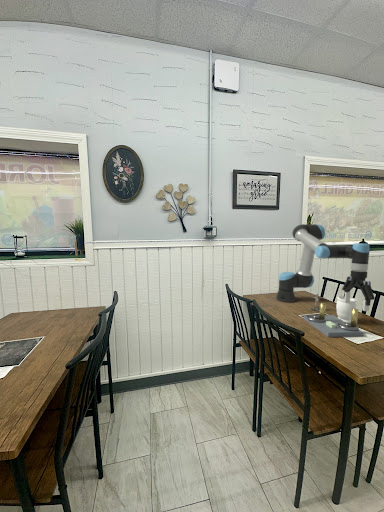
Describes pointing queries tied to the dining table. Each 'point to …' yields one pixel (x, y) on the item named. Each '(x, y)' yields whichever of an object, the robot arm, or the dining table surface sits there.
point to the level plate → (331, 330)
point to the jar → (345, 308)
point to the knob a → (321, 316)
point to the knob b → (353, 324)
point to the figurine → (316, 302)
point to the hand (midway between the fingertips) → (355, 306)
